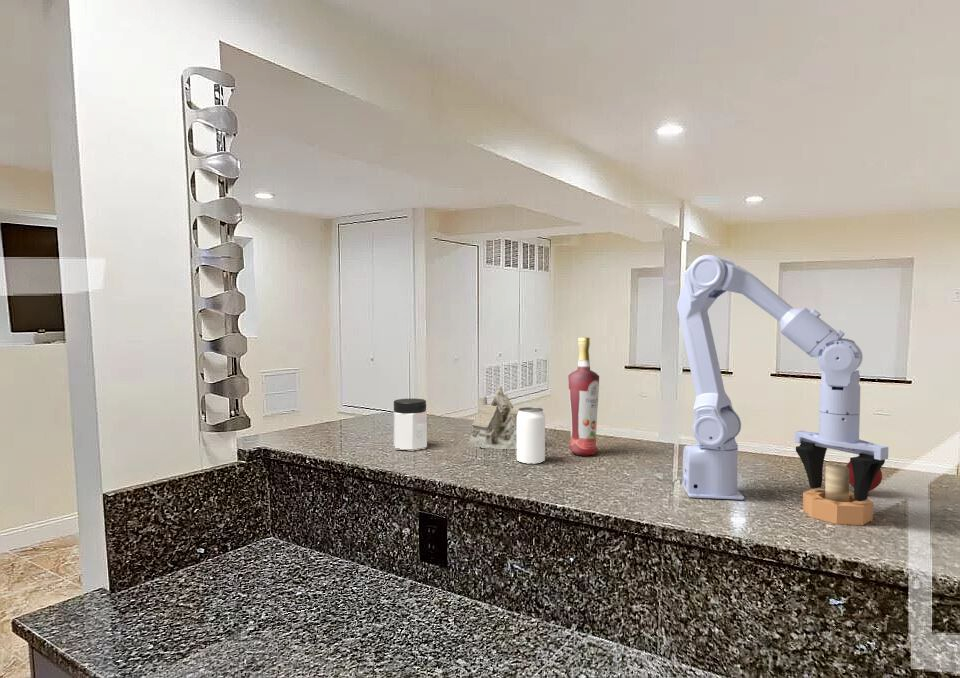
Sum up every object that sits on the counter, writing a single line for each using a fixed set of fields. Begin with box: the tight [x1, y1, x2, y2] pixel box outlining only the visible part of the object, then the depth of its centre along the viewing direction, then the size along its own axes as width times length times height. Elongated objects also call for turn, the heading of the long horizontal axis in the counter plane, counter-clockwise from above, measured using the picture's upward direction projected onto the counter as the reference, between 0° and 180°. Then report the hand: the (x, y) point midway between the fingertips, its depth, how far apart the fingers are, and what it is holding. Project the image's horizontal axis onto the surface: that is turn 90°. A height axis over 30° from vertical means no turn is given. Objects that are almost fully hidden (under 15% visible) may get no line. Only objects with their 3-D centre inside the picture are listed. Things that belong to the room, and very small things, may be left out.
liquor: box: [567, 336, 600, 457], centre depth 141 cm, size 7×7×28 cm
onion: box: [845, 455, 883, 492], centre depth 109 cm, size 6×6×8 cm
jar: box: [393, 398, 428, 449], centre depth 148 cm, size 9×8×12 cm
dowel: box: [824, 464, 850, 502], centre depth 98 cm, size 3×3×8 cm
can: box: [516, 406, 546, 464], centre depth 134 cm, size 6×6×12 cm
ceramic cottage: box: [467, 386, 519, 450], centre depth 151 cm, size 16×16×15 cm
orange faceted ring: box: [802, 488, 874, 526], centre depth 98 cm, size 9×9×3 cm
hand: (837, 493), depth 98 cm, fingers open, 7 cm apart
